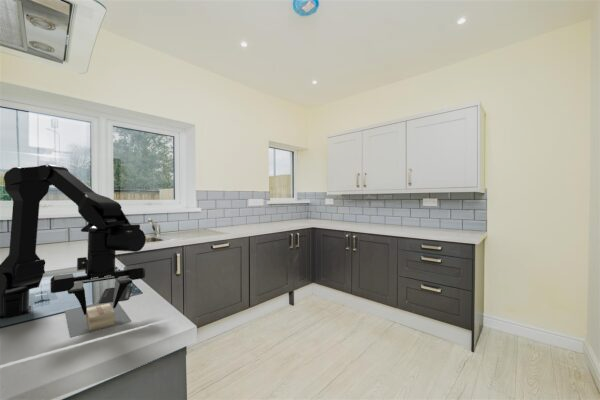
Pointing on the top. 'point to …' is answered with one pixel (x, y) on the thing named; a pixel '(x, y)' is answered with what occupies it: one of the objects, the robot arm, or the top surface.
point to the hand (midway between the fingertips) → (100, 310)
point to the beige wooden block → (100, 316)
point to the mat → (79, 324)
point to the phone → (109, 295)
